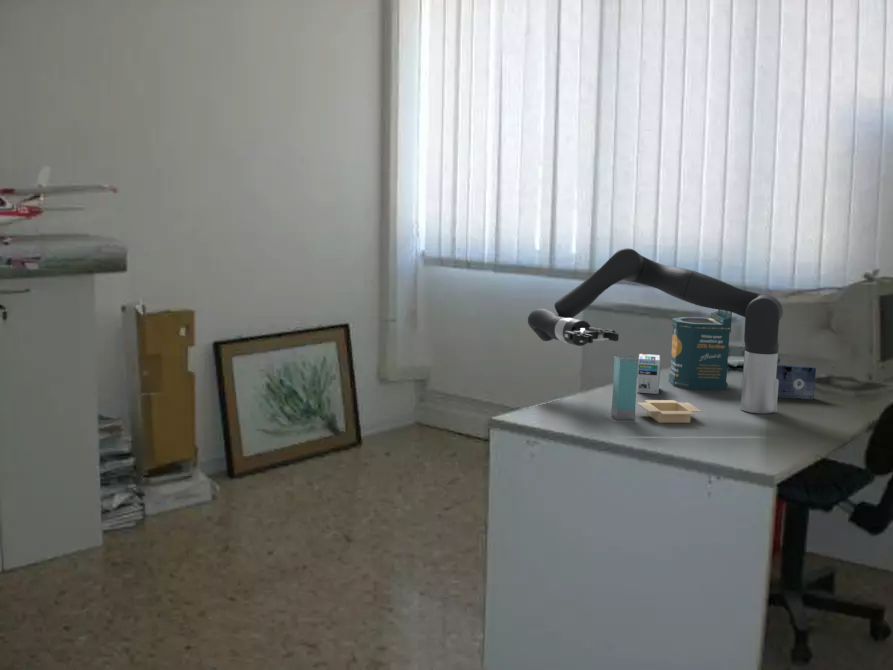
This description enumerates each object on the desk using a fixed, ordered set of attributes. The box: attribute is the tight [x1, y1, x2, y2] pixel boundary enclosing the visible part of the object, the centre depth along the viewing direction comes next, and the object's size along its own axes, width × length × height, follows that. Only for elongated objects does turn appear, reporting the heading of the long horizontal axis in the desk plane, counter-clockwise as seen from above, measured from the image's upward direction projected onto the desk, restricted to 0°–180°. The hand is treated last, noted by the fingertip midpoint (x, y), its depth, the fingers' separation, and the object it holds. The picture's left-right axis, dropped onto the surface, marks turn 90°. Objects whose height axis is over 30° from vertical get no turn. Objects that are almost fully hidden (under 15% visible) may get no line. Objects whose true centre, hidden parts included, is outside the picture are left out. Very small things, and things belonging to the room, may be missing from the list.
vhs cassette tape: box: [776, 364, 817, 400], centre depth 317 cm, size 18×3×10 cm, turn 80°
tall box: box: [610, 355, 639, 421], centre depth 280 cm, size 5×5×17 cm
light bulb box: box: [636, 353, 661, 395], centre depth 321 cm, size 11×7×11 cm, turn 168°
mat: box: [604, 414, 642, 423], centre depth 281 cm, size 8×8×1 cm
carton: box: [636, 399, 702, 424], centre depth 283 cm, size 15×17×4 cm
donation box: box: [668, 309, 733, 391], centre depth 332 cm, size 16×16×28 cm
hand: (604, 338), depth 287 cm, fingers open, 8 cm apart
